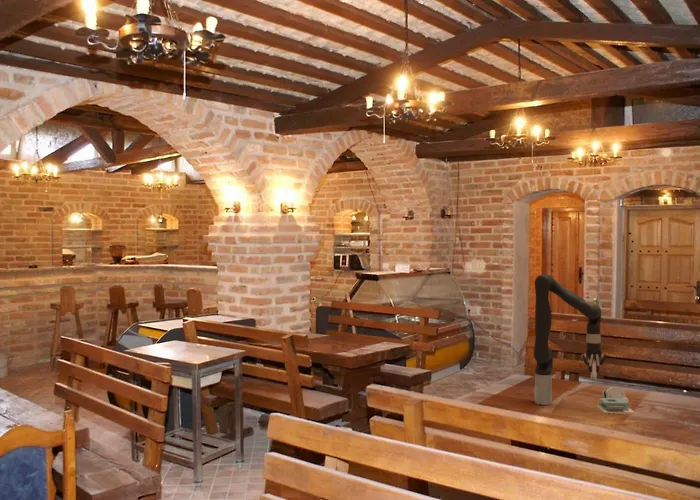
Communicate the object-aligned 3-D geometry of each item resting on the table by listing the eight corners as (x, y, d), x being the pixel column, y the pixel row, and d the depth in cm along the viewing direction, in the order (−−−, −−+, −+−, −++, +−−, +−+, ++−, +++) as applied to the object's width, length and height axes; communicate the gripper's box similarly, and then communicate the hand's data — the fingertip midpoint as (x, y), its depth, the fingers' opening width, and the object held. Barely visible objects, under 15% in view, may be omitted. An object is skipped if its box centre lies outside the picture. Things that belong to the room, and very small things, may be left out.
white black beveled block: (611, 405, 365) (606, 388, 368) (604, 406, 369) (599, 389, 371) (629, 401, 374) (624, 384, 376) (622, 402, 378) (617, 385, 380)
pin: (591, 380, 354) (591, 360, 354) (590, 379, 357) (590, 359, 357) (597, 380, 354) (597, 360, 354) (595, 379, 357) (595, 359, 357)
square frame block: (604, 413, 350) (604, 404, 349) (597, 407, 363) (597, 398, 362) (634, 413, 348) (634, 404, 348) (626, 407, 361) (626, 398, 361)
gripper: (582, 342, 352) (582, 373, 352) (608, 342, 351) (608, 373, 351) (578, 340, 360) (579, 371, 360) (604, 340, 358) (604, 371, 359)
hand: (593, 372), depth 355 cm, fingers closed on pin, 3 cm apart
